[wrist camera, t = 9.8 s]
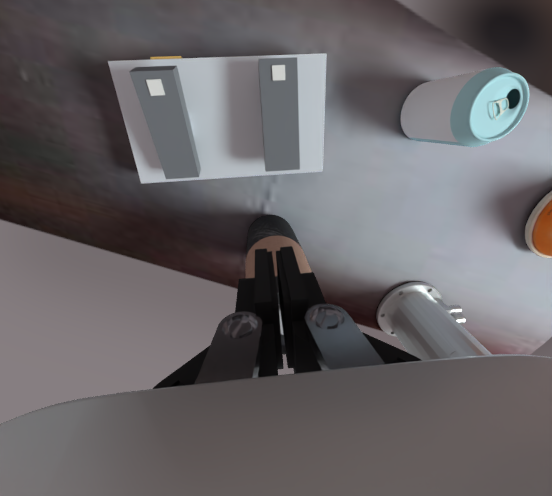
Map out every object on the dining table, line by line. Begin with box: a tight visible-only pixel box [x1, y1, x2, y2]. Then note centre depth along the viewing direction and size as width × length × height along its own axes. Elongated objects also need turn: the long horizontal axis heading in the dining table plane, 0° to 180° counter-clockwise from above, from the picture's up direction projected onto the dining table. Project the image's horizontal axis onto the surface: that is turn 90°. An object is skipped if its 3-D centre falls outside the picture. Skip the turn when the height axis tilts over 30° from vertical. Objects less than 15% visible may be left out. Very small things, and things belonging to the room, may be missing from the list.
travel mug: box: [246, 215, 311, 354], centre depth 32 cm, size 8×8×20 cm
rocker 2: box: [258, 57, 300, 172], centre depth 27 cm, size 4×10×2 cm, turn 3°
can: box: [401, 67, 529, 147], centre depth 30 cm, size 7×7×12 cm
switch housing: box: [108, 53, 327, 183], centre depth 31 cm, size 22×12×6 cm, turn 93°
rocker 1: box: [129, 66, 201, 179], centre depth 26 cm, size 4×10×2 cm, turn 3°
